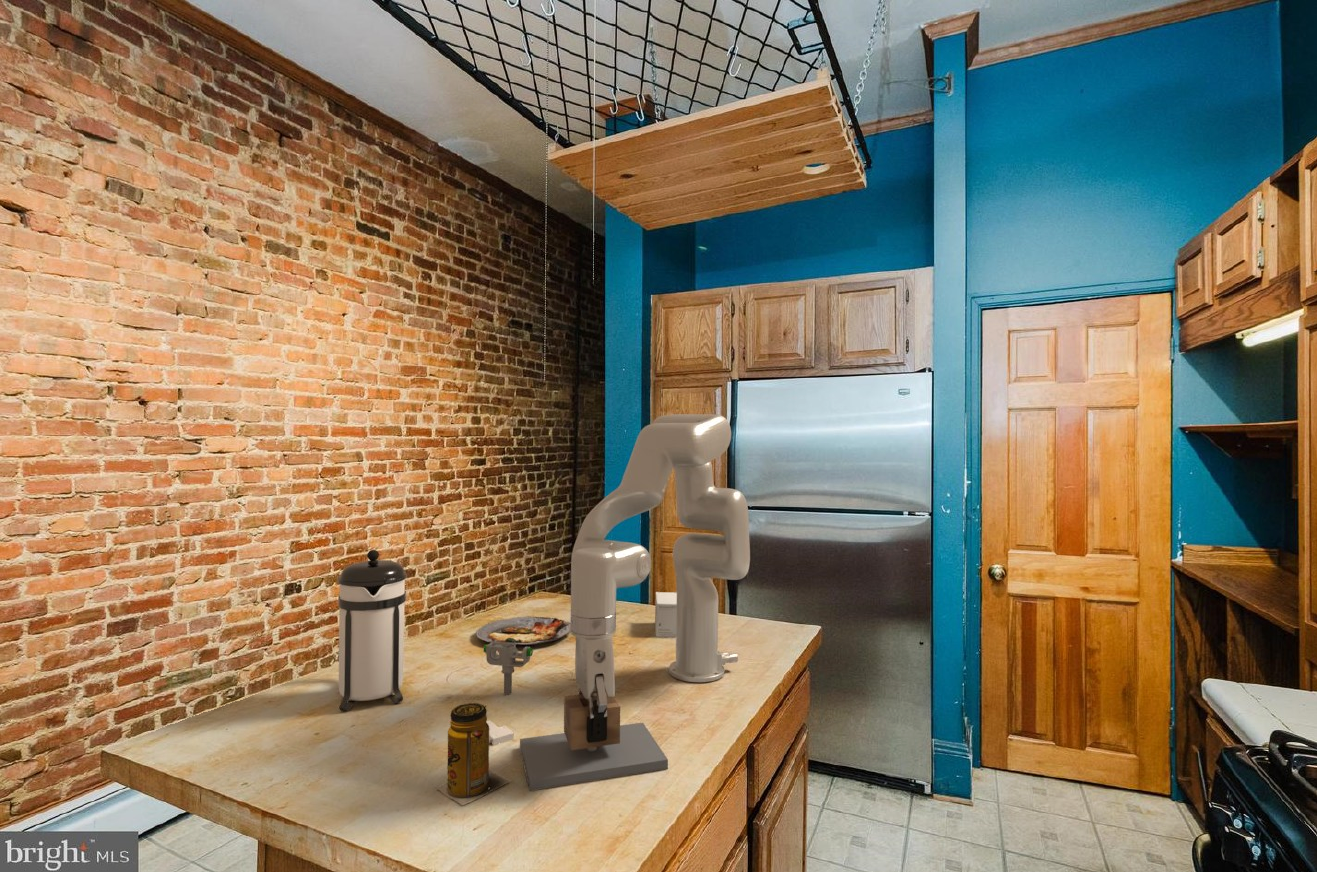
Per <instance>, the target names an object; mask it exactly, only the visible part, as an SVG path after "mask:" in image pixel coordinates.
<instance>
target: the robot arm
mask: <svg viewBox="0 0 1317 872" xmlns="http://www.w3.org/2000/svg"><path fill="white" fill-rule="evenodd" d="M731 429H732V428H731V425H730V422H729V421H728V420H727V418H726V417H724V415H721V414H715V413H714V414H713V413H712V414H711V413H709V414H707V413H706V414H703V413H700V414H695V413H694V414H693V413H691V414H690V413H677V414H675V413H674V414H671V413H670V414H664V415H661V416H657V417H656V418H655V419H654V420H653V422H652V423H650V424H648V425H645V426H644V427H643V428H642V429H641V430H640V432H639V434H638V435H637V438H636V441H635V444H634V446H633V448H632V449H633V450H632V452H631V455H630V458H629V461H628V463H627V465H626V468H625V471H624V473H623V476H622V479H621V482H620V484H619V486H618V487H617V488H616V489H614V490H613V491H611V492H610V493H609V494H608V495H607V496H605V497H604V498H603V499H602V500H600V502H598V503H597V504H596V505H595V507H593V508H592V509H591V510H590V512H589V513H588V514H586V516H585V518H584V520H583V522H582V524H581V527H580V530H579V531H578V534H577V537H576V540H575V543H574V545H573V548H572V552H571V562H570V564H571V565H570V566H571V568H570V569H571V570H570V571H571V572H570V623H571V629H570V633H569V634H570V635H572V636H573V637H575V653H574V654H575V657H574V660H575V661H574V665H575V667H574V668H575V669H574V671H575V672H574V673H575V681H576V684H577V686H578V693H577V695H578V694H583V696H584V697H585V698H586V699H587V700H588V708H589V717H587V741H588V743H592V742H599V741H605V740H606V739H607V698H606V693H607V695H608V697H610V698H613V697H615V694H616V693H615V692H616V687H615V684H616V683H615V658H614V657H615V656H614V644H613V643H614V642H613V635H615V634H616V632H617V629H616V628H617V627H616V626H617V624H616V623H617V589H620V588H628V587H629V588H631V587H635V586H637V585H639V584H641V583H642V582H644V581H645V580H646V579H647V577H648V575H649V574H650V571H651V568H652V559H651V555H650V553H649V551H648V550H647V548H646V547H644V546H643V545H641V544H638V543H635V542H628V541H618V540H612V539H611V540H609V539H605V538H606V537H607V535H608V534H609V533H610V532H611V530H612V529H613V528H614V527H616V526H617V525H618V524H620V523H621V522H623V521H625V520H627V519H629V518H632V517H634V516H635V517H636V516H637V515H640V514H642V513H645V512H648V511H650V510H652V509H654V508H657V507H658V506H659V505H660V504H661V503H662V501H663V500H664V496H665V493H666V489H667V486H668V484H669V481H670V477H671V474H672V471H673V472H674V480H675V481H674V483H675V485H674V486H675V496H676V497H675V498H676V513H677V519H678V521H679V523H680V525H681V526H683V527H685V528H688V529H692V530H693V529H694V530H702V531H712V532H713V531H714V532H722V535H720V534H714V533H713V534H711V533H704V532H703V533H702V532H701V533H700V532H688V533H684V534H681V535H680V536H678V538H676V540H675V541H674V544H673V547H672V560H673V565H674V567H673V568H674V572H675V581H676V583H675V584H676V586H675V587H676V593H677V613H676V637H675V642H676V643H675V660H674V661H673V662H671V663H670V664H669V666H668V673H669V674H670V675H671V676H672V677H674V678H675V679H677V680H680V681H684V682H689V683H709V682H713V681H717V680H719V679H721V678H723V677H724V675H725V665H726V664H735V663H738V660H739V657H738V654H737V653H728V651H723V652H722V651H719V594H718V590H717V588H716V586H715V585H714V582H713V580H712V579H722V580H730V581H739V580H741V579H743V578H745V577H746V576H747V574H748V573H749V570H750V563H751V547H750V546H751V545H750V524H749V523H750V522H749V520H750V519H749V508H748V502H747V499H746V497H745V495H744V494H743V493H742V492H741V491H739V490H738V489H734V488H729V487H716V486H715V484H714V475H713V473H714V472H713V471H714V470H713V465H712V461H714V460H715V459H716V458H719V457H720V456H722V455H723V454H724V453H725V452H726V451H727V450H728V448H729V446H730V443H731V439H732V430H731ZM711 578H712V579H711ZM592 693H596V694H597V697H591V694H592ZM593 701H597V705H595V706H594V709H593Z"/></svg>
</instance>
